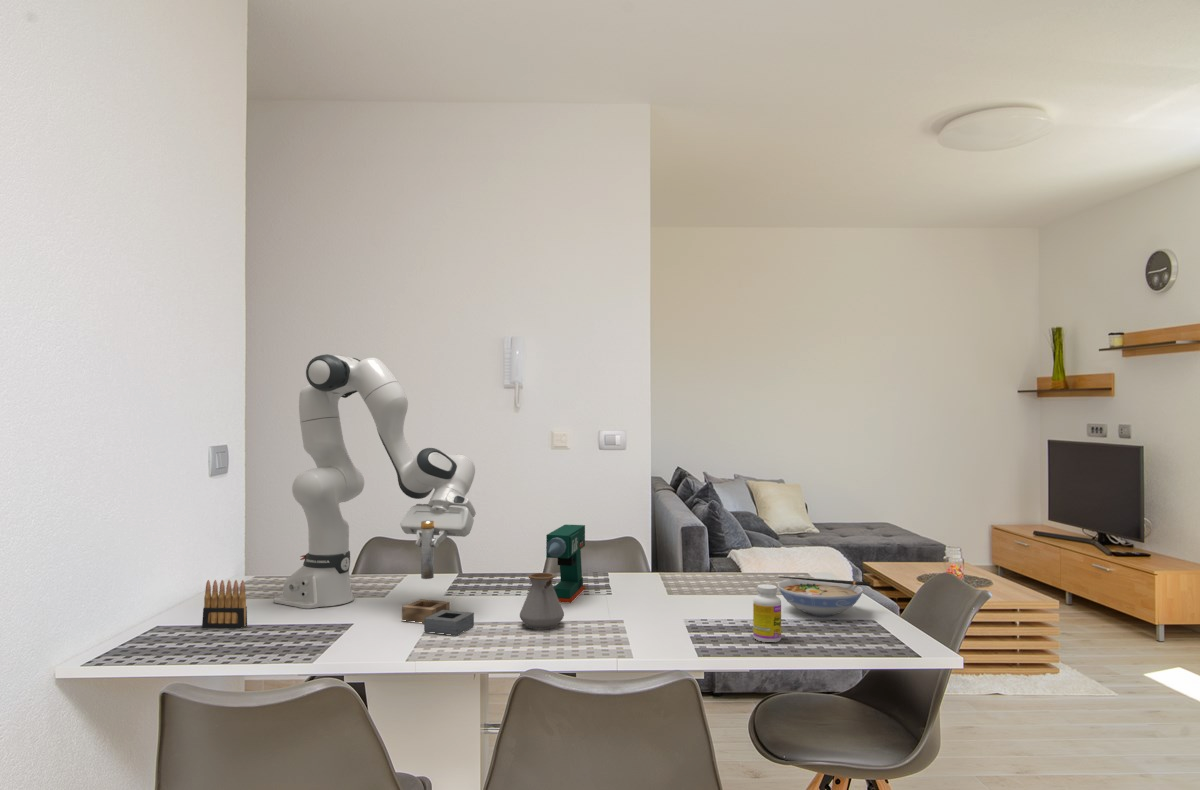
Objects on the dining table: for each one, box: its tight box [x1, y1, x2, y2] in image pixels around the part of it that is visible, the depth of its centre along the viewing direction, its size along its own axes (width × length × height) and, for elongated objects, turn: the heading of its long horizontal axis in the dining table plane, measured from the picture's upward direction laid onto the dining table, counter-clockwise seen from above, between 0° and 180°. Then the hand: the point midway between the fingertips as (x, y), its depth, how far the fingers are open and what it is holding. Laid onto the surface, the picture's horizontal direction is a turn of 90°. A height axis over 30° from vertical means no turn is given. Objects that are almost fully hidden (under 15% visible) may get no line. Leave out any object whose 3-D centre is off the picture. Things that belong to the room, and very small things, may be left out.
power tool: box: [545, 524, 586, 604], centre depth 221 cm, size 32×7×20 cm, turn 168°
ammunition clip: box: [201, 579, 248, 629], centre depth 192 cm, size 11×2×12 cm, turn 90°
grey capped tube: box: [420, 520, 435, 580], centre depth 201 cm, size 3×3×15 cm
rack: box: [401, 598, 451, 623], centre depth 200 cm, size 9×9×4 cm
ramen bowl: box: [777, 576, 871, 617], centre depth 208 cm, size 25×23×8 cm
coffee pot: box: [519, 572, 565, 630], centre depth 190 cm, size 21×12×15 cm, turn 11°
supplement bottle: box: [752, 583, 782, 643], centre depth 183 cm, size 7×7×13 cm
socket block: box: [423, 609, 475, 636], centre depth 190 cm, size 9×9×4 cm
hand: (426, 546), depth 200 cm, fingers closed on grey capped tube, 3 cm apart
